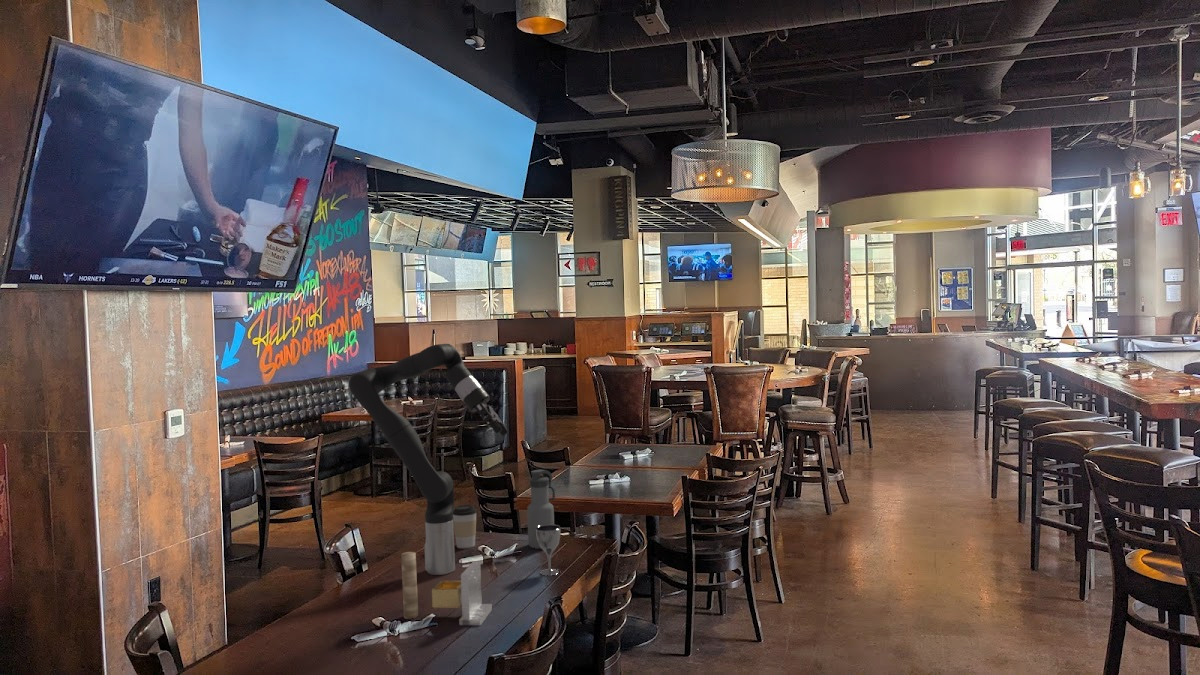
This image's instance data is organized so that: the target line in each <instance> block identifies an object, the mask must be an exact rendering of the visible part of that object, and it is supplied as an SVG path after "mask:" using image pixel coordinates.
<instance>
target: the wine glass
mask: <svg viewBox="0 0 1200 675" xmlns="http://www.w3.org/2000/svg"><path fill="white" fill-rule="evenodd" d="M536 535H537V541H538V544H539V546H540V547H541V548H542V549H541V550H543V552H544V553H545V555H546V556H547V563H548V565H547V568H546V569H542V570H540V571H541V572H540V571H539V572H540V573H541V574H542V575H545V576H544V577H553V576H552V575H555V576H558V575H559V574H558V573H559V571H558V570H559V569H557V570H556V568H552V565H551V562H552V555H553V553H554V551H555V550H556V549H557V547H558V545H559V544H560V540H561V525H558V524H554V525H553V524H547V525H541V526H538V527H537V528H536ZM557 574H558V575H557ZM542 575H541V576H542ZM547 575H548V576H547Z"/></svg>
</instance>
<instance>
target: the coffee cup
mask: <svg viewBox="0 0 1200 675" xmlns="http://www.w3.org/2000/svg"><path fill="white" fill-rule="evenodd" d="M477 512H478V511H477V508H475V507H474V505H471V504H462V505H458V506H456V507H454V511H453V531H454V537H455V543H456V548H458V549H469V548H472V547H475V545H476V533H477V532H476V531H477Z"/></svg>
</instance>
